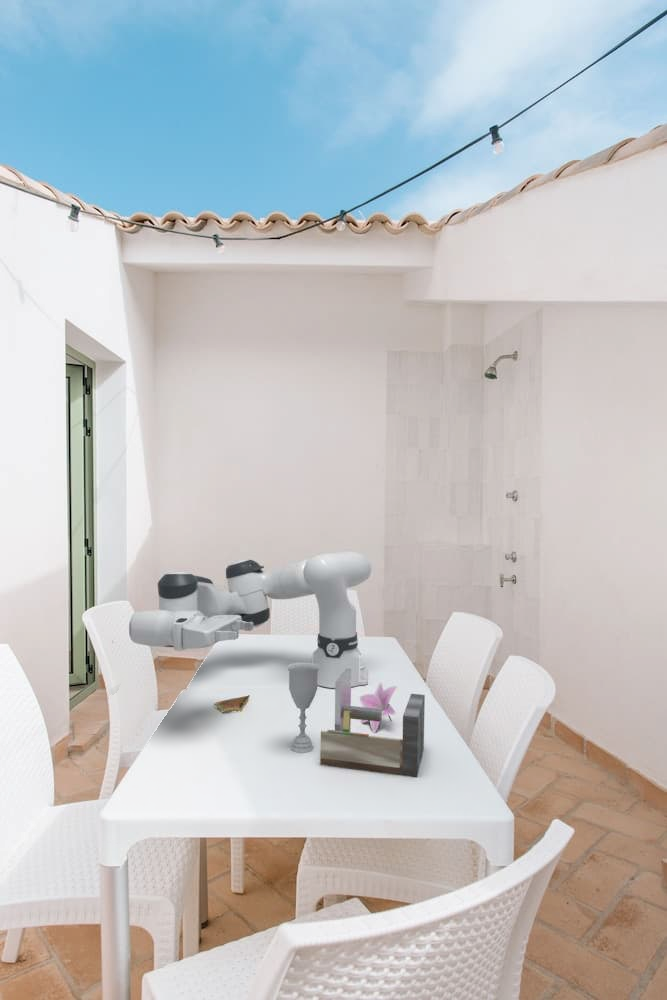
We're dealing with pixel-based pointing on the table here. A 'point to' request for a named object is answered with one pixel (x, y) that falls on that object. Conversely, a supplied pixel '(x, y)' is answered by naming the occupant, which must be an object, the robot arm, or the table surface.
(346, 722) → the drag pointer
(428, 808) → the table surface
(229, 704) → the shard
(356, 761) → the wooden book stand
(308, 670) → the chalice
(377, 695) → the lily
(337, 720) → the grey metal angled plate
